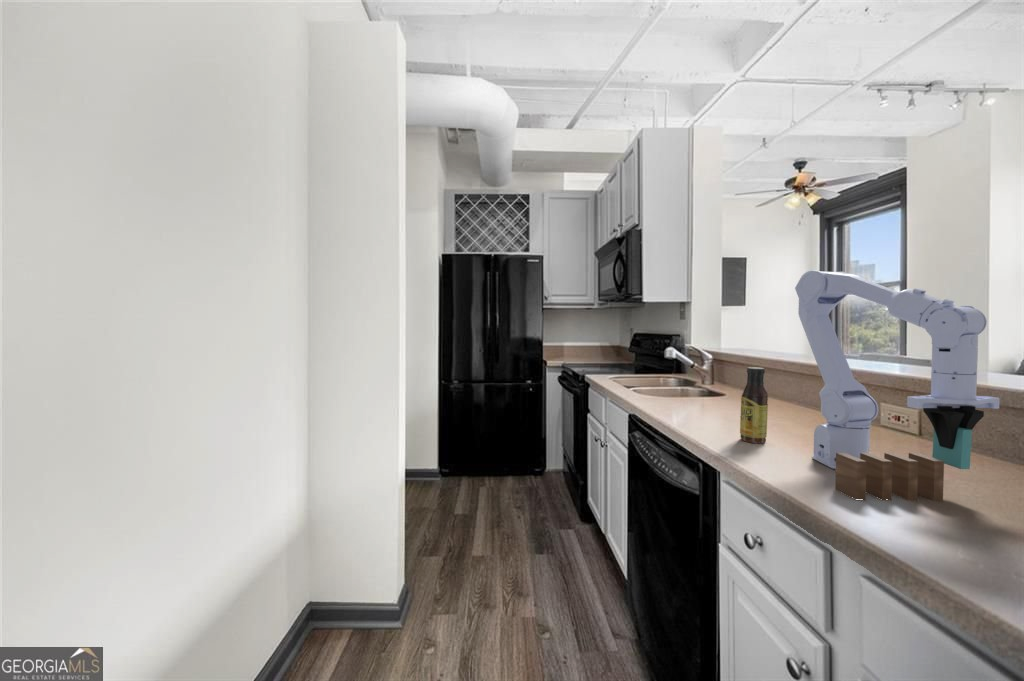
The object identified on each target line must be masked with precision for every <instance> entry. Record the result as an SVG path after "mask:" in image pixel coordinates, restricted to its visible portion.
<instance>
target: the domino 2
mask: <svg viewBox="0 0 1024 681" xmlns="http://www.w3.org/2000/svg"><path fill="white" fill-rule="evenodd" d="M860 459H862V460H864V461H866V492H867V493H866V494H868V493H869V494H868V495H870V494H871V496H872V495H873V496H872V497H874V496H875V497H874V498H876V497H878V498H880V499H882V500H881V501H892V461H890V460H887V459H884V457H881V456H879V455H876V454H874V453H871V452H869V453H860ZM878 498H877V499H878ZM880 499H879V500H880ZM886 499H888V500H886Z"/></svg>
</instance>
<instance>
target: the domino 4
mask: <svg viewBox="0 0 1024 681" xmlns="http://www.w3.org/2000/svg"><path fill="white" fill-rule="evenodd" d="M908 458H910V459H913V460H916V461H918V485H917V495H920V496H923V497H924V496H925V497H924V498H927V499H929V498H930V499H929V500H931V499H932V501H944V482H945V481H944V478H945V477H944V474H945V464H944V461H942V460H938V459H935V458H932V456H930V455H926V454H923V453H919V452H908Z"/></svg>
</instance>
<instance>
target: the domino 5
mask: <svg viewBox="0 0 1024 681" xmlns="http://www.w3.org/2000/svg"><path fill="white" fill-rule="evenodd" d="M972 437H973V429H972V430H970V429H965V428H961V427H958V430H957V434H956V440H955V444H954V447H953V449H948V448H945V447H941V446H940V445H939V442H938V438H937V435H936V432H935V430H934V429H933V438H932V456H931V457H932V458H935V459H938V460H942V461H944V465H946V466H947V465H948V466H951V467H953V468H956V469H959V470H970V468H971V453H972V439H973V438H972Z"/></svg>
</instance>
